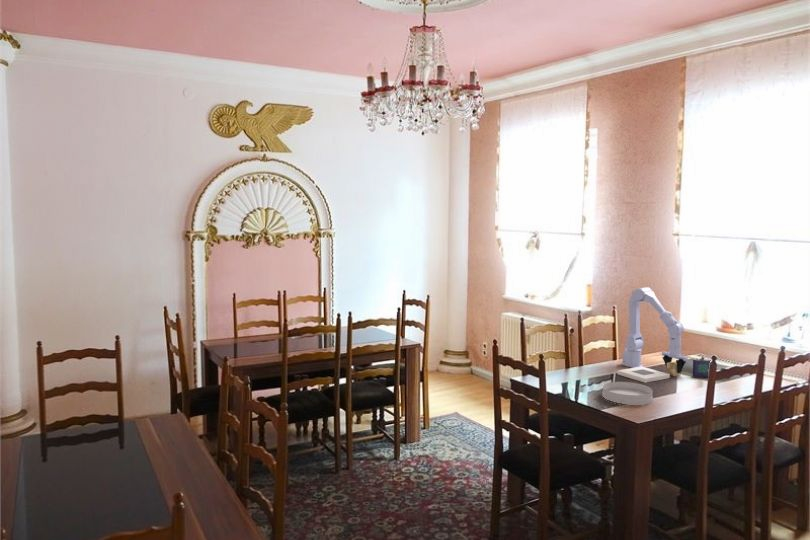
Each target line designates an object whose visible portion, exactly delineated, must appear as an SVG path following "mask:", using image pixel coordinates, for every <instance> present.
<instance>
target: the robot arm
mask: <svg viewBox="0 0 810 540" xmlns="http://www.w3.org/2000/svg"><path fill="white" fill-rule="evenodd" d="M643 302H644V303H648V304H650V305H651V306H652V307H653V309H655V311H656V312H657V313H658V314H659V319H660V320H661V321H662V323H663V324H664V325H665V327H666V328H667V333H668V334H669V335H668V336H669V338H668V351H661V356H662V360H663V362H664V364H665V369H666V370H667V363H668V362H673V359H676V360H675V362H676V363H677V373H681V374H682V371H683V368H684V366H685V364H686V363H687V362H688V361H689V360H688V359H689V358H688V356H686V355H684V354H681V351H682V333H683V332H684V330H685V329H684V325H683V324H682V323H681V322H679V321H678V320H676V318H675V317H674V315H673V312H670V311H669V310H665V309H666V308H665V307H664V306H663V305H662V303H661V302H660V301H659V299H658V298H657V296H656V295H655V291H653V290H652V288H650V287H648V286H645V287H639V288H638V287H637V288H635V289H634V290H633V291H632V292H631V296H630V297H629V300H628V323H629V325H628V326H629V328H628V329H629V333H628V334H627V336H626V340H625V343H624V344H625V345H624V346H625V349H624V350H623V352H622V359H621V360H622V361H621V362H622V363H620V365H622V366H625V367H630V368H636V367H641V366H642V367H645V365H643V364H642V348H643V347H644V345H645V341H644V338H643V334H642V333H641V326H640V325H641V323H640V321H641V320H640V319H641V314H640V310H641V309H640V304H641V303H643Z"/></svg>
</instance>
